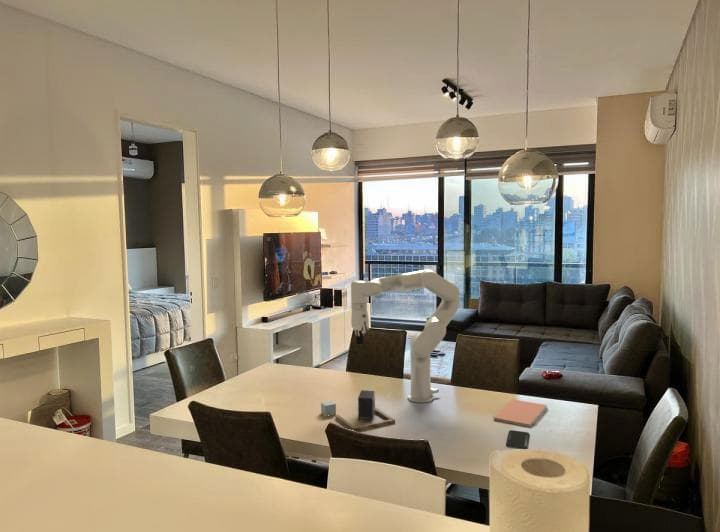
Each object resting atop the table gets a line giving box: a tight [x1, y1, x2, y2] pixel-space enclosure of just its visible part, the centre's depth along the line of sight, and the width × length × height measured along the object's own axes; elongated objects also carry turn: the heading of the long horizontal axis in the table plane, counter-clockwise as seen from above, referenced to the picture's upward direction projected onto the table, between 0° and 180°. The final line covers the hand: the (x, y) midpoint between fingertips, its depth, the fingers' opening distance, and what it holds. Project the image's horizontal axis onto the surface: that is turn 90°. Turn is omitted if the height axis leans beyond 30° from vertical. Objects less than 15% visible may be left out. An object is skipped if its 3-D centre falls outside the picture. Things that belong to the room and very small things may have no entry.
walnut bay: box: [334, 407, 396, 432], centre depth 224 cm, size 20×18×2 cm
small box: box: [357, 389, 376, 422], centre depth 228 cm, size 11×6×10 cm, turn 172°
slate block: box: [320, 400, 337, 417], centre depth 233 cm, size 5×5×5 cm
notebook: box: [492, 399, 548, 428], centre depth 229 cm, size 27×17×2 cm, turn 147°
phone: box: [505, 429, 530, 450], centre depth 201 cm, size 8×1×15 cm
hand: (359, 343), depth 251 cm, fingers closed
